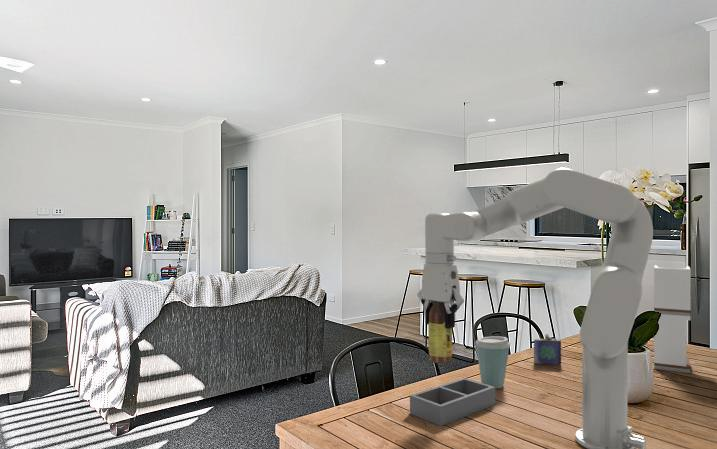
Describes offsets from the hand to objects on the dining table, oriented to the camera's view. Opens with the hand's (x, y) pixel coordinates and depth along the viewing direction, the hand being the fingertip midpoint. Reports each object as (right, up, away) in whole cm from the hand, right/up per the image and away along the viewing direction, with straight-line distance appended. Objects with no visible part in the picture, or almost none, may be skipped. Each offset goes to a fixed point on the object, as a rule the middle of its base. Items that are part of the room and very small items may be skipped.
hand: (440, 325), depth 140 cm
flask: (+46, -23, +46) cm, 69 cm away
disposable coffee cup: (+20, -24, +24) cm, 39 cm away
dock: (+4, -24, +4) cm, 25 cm away
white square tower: (+88, -23, +42) cm, 100 cm away
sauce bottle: (0, -10, 0) cm, 10 cm away
